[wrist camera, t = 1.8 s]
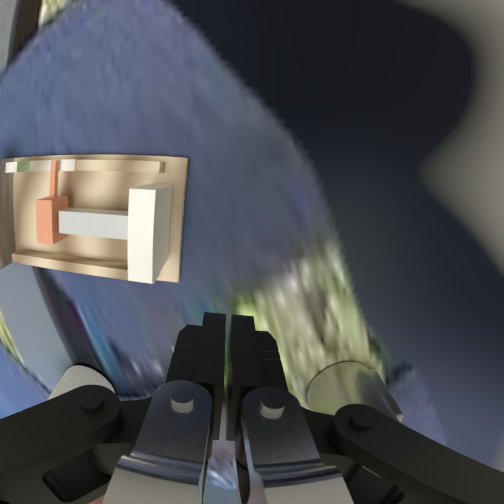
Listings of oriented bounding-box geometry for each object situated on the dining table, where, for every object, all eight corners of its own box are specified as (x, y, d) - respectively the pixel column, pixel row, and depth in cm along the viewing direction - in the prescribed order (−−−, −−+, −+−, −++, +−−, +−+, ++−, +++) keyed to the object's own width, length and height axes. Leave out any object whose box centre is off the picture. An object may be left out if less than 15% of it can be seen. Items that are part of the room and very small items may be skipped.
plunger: (172, 184, 25) (155, 190, 19) (168, 258, 27) (152, 283, 21) (77, 179, 24) (43, 185, 18) (77, 248, 26) (47, 268, 20)
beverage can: (63, 355, 31) (23, 413, 20) (116, 372, 32) (85, 440, 21) (71, 394, 34) (41, 450, 22) (118, 410, 35) (96, 473, 23)
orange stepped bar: (69, 159, 22) (53, 160, 20) (68, 236, 25) (52, 244, 22) (54, 160, 22) (37, 161, 19) (53, 234, 24) (37, 242, 21)
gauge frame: (188, 158, 26) (168, 154, 17) (179, 278, 29) (160, 323, 21) (4, 159, 23) (-47, 164, 15) (6, 254, 27) (-38, 279, 18)
